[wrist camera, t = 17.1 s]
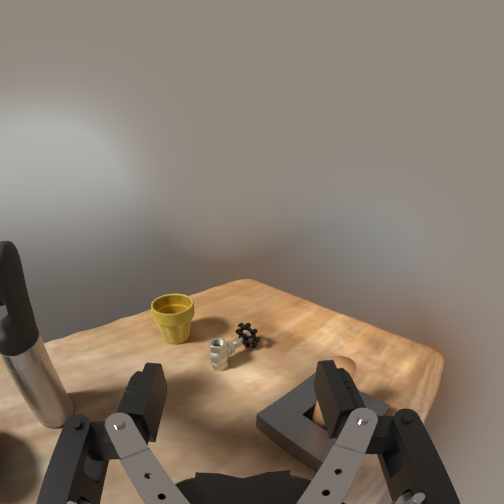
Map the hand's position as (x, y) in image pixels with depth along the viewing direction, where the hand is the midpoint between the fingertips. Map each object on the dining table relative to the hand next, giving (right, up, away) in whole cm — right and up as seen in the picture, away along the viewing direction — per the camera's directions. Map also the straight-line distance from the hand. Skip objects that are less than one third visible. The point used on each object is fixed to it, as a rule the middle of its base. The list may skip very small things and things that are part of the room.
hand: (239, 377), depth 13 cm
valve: (-4, -17, +45) cm, 48 cm away
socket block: (+13, -23, +25) cm, 37 cm away
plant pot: (-18, -15, +52) cm, 57 cm away
